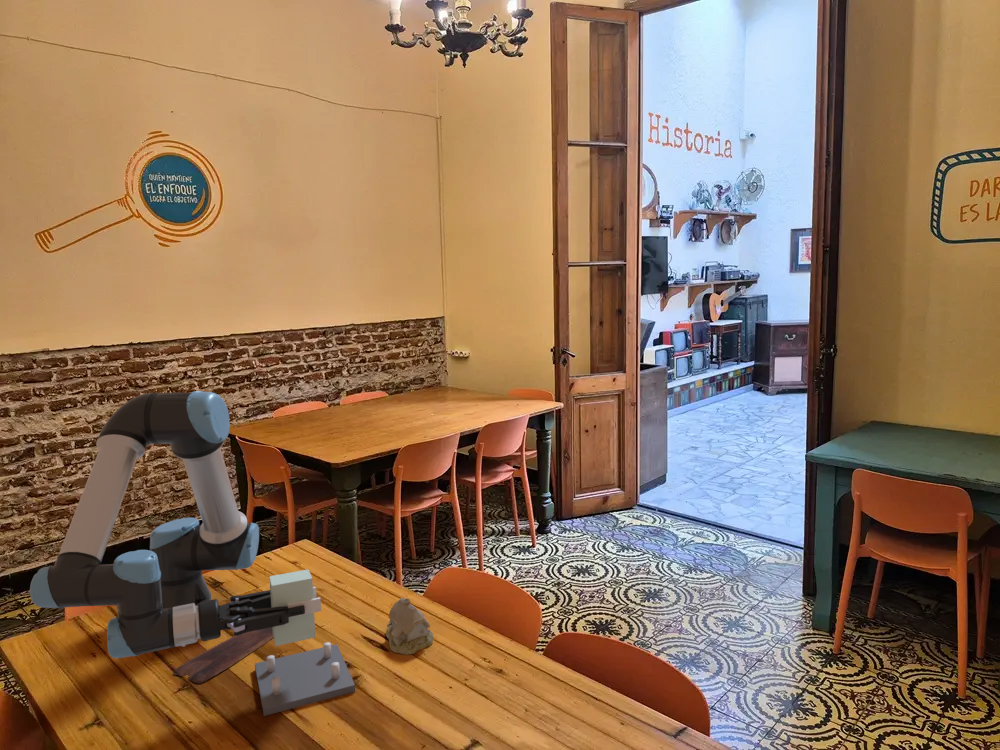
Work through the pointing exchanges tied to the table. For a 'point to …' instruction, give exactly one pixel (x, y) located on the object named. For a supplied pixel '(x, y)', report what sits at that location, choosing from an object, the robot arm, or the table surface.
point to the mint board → (290, 591)
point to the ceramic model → (407, 628)
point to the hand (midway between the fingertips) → (318, 598)
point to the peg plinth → (302, 678)
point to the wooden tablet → (223, 655)
